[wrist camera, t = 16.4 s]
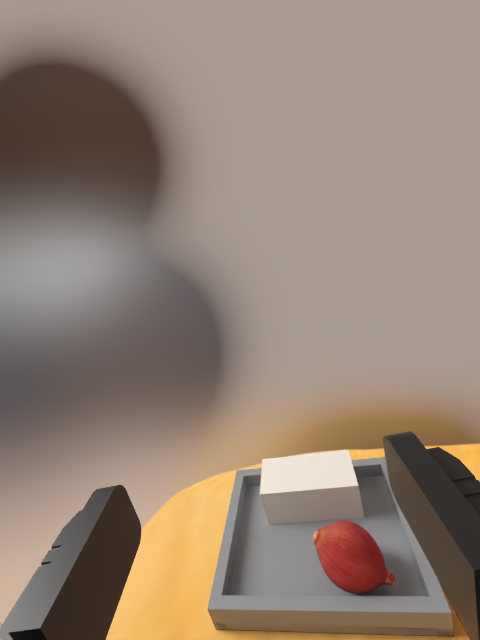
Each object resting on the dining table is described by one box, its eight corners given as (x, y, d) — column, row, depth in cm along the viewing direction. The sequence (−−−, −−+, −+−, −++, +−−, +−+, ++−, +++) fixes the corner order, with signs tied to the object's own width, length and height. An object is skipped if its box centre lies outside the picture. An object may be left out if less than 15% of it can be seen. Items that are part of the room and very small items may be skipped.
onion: (323, 501, 36) (396, 541, 33) (306, 554, 34) (381, 601, 31) (322, 511, 30) (409, 559, 27) (301, 573, 29) (391, 631, 26)
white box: (268, 524, 40) (259, 494, 38) (270, 486, 45) (262, 459, 44) (364, 517, 37) (358, 485, 36) (353, 478, 43) (348, 449, 42)
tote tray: (215, 629, 31) (207, 609, 30) (241, 485, 48) (237, 470, 47) (454, 636, 26) (451, 612, 26) (390, 474, 43) (387, 457, 43)
